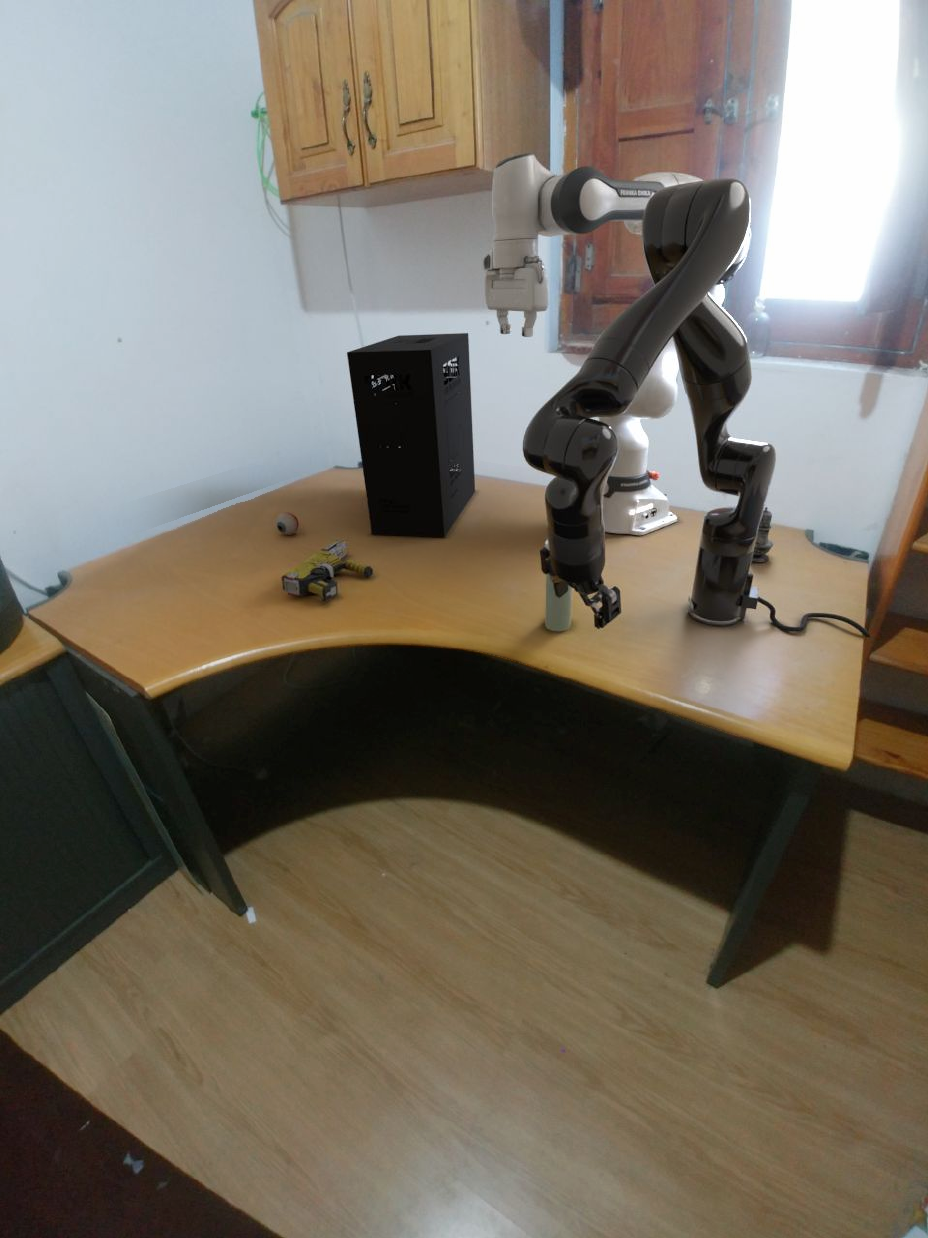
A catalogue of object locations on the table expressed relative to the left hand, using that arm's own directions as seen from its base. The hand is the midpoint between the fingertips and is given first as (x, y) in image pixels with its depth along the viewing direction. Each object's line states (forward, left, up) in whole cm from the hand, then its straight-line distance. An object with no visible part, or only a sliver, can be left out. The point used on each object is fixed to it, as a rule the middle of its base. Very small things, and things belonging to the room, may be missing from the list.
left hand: (516, 335), depth 125 cm
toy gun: (+44, -6, -48) cm, 65 cm away
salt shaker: (-44, +33, -48) cm, 73 cm away
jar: (+11, +36, -48) cm, 61 cm away
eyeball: (+49, -41, -48) cm, 80 cm away
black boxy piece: (+9, -37, -48) cm, 61 cm away
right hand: (+18, +53, -35) cm, 65 cm away
